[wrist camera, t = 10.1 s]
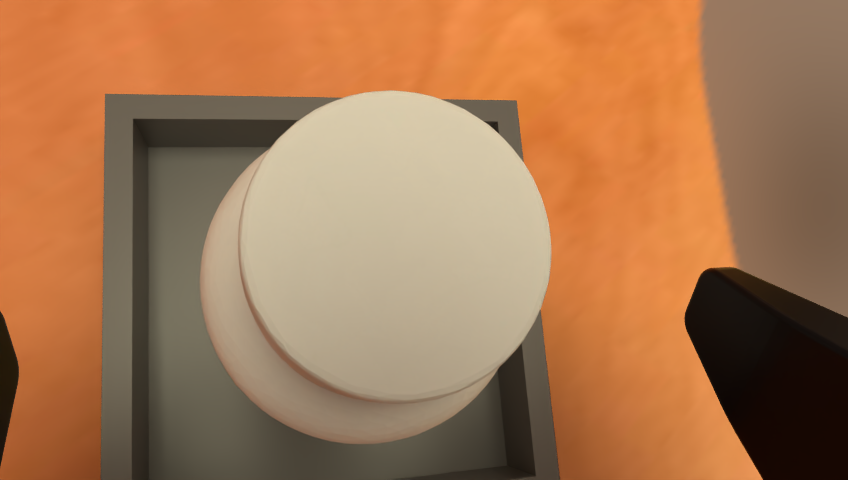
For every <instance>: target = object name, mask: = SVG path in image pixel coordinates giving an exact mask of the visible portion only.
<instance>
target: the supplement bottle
mask: <svg viewBox="0 0 848 480" xmlns="http://www.w3.org/2000/svg"><path fill="white" fill-rule="evenodd" d="M550 266H551V237H550V229H549V223H548V218H547V214H546V211H545V207H544V204H543V201H542V198H541V195H540V193H539V191H538V188H537V186H536V184H535V182H534V179H533V177H532V176H531V174H530V172H529V171H528V169H527V167H526V166H525V164H524V162H523V161H522V160H521V158H520V157H519V156H518V154H517V153H516V152H515V151H514V149H513V148H512V147H511V146H510V145H509V144H508V143H507V141H506V140H505V139H504V138H503V137H502V136H501V135H500V134H499V133H497V132H496V131H495V130H494V129H493V128H492V127H491V126H489V125H488V124H487V123H485V122H484V121H482V120H481V119H479V118H478V117H476V116H474V115H473V114H471V113H470V112H468V111H466V110H465V109H463V108H460V107H458V106H456V105H454V104H452V103H450V102H447V101H444V100H441V99H438V98H436V97H433V96H429V95H424V94H420V93H413V92H404V91H375V92H367V93H361V94H356V95H351V96H347V97H344V98H342V99H339V100H336V101H333V102H331V103H328V104H326V105H324V106H321V107H319V108H317V109H315V110H314V111H312V112H311V113H309V114H307V115H306V116H305V117H303V118H302V119H300V120H299V121H297V122H296V123H295V124H294V125H292V126H291V127H290V128H289V129H288V130H287V131H286V132H285V133H284V134H283V135H281V136H280V137H279V138H278V139H277V141H276V142H275V143H274V144H273V145H272V147H271V148H270V149H269V150H267V151H266V152H264V153H263V154H262V155H261V156H259V157H258V158H257V159H256V160H255V161H254V162H252V163H251V164H250V165H249V166H248V167H247V168H246V169H245V170H244V172H243V173H242V174H241V175H240V176H239V177H238V178H237V180H236V181H235V182H234V184H233V185H232V187H231V188H230V189H229V191H228V192H227V194H226V195H225V197H224V198H223V200H222V201H221V203H220V205H219V207H218V209H217V211H216V213H215V215H214V217H213V219H212V221H211V224H210V227H209V230H208V233H207V237H206V240H205V244H204V248H203V253H202V260H201V270H200V295H201V304H202V310H203V315H204V319H205V323H206V327H207V331H208V333H209V336H210V339H211V341H212V344H213V346H214V348H215V351H216V353H217V355H218V357H219V359H220V361H221V363H222V364H223V366H224V368H225V370H226V371H227V373H228V374H229V376H230V377H231V379H232V380H233V382H234V383H235V385H236V386H238V387H239V388H240V389H241V390H242V391H243V393H244V394H245V395H246V396H247V397H248V398H249V399H250V400H251V401H252V402H253V403H255V404H256V405H257V406H258V407H259V408H260V409H262V410H263V411H264V412H265V413H267V414H268V415H270V416H271V417H273V418H274V419H276V420H278V421H279V422H281V423H283V424H285V425H286V426H288V427H291V428H293V429H295V430H297V431H299V432H302V433H304V434H307V435H310V436H312V437H316V438H320V439H323V440H327V441H332V442H339V443H347V444H377V443H385V442H391V441H396V440H400V439H404V438H408V437H411V436H414V435H418V434H420V433H422V432H424V431H427V430H429V429H431V428H433V427H435V426H437V425H439V424H441V423H443V422H444V421H446V420H448V419H449V418H451V417H453V416H454V415H455V414H457V413H458V412H459V411H460V410H462V409H463V408H464V407H466V406H467V405H468V404H469V403H470V402H471V401H472V400H473V399H475V398H476V397H477V395H478V394H479V393H480V392H481V391H482V390H483V389H484V388H485V387H486V385H487V384H488V383H489V381H490V380H491V379H492V377H493V376H494V375H495V373H496V371H497V370H498V368H499V367H500V366H501V365H502V364H503V363H504V362H505V361H506V360H507V359H508V358H509V357H510V356H511V355H512V354H513V353H514V352H515V351H516V349H517V348H518V347H519V346H520V344H521V343H522V342H523V340H524V339H525V337H526V335H527V334H528V332H529V330H530V329H531V327H532V325H533V324H534V322H535V320H536V318H537V316H538V313H539V311H540V309H541V306H542V303H543V300H544V297H545V294H546V290H547V286H548V282H549V277H550Z"/></svg>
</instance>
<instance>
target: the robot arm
mask: <svg viewBox="0 0 848 480" xmlns="http://www.w3.org/2000/svg"><path fill="white" fill-rule="evenodd" d="M685 326H686V330H687V332H688V334H689V337H690V339H691V341H692V343H693V345H694V347H695V350H696V352H697V354H698V356H699V358H700V360H701V363H702V365H703V367H704V369H705V371H706V373H707V376H708V378H709V380H710V382H711V384H712V386H713V388H714V391H715V393H716V395H717V397H718V399H719V401H720V404H721V406H722V408H723V410H724V412H725V414H726V416H727V418H728V420H729V422H730V423H731V425H732V427H733V429H734V431H735V433H736V434H737V436H738V438H739V439H740V441H741V443H742V445H743V446H744V448H745V450H746V451H747V453H748V455H749V456H750V458H751V460H752V462H753V463H754V465H755V467H756V468H757V470H758V472H759V474H760V475H761V477H762V479H763V480H848V318H847V317H845V316H843V315H841V314H838V313H836V312H834V311H832V310H829V309H827V308H825V307H823V306H820V305H818V304H816V303H814V302H811V301H809V300H807V299H805V298H802V297H800V296H798V295H796V294H793V293H791V292H789V291H787V290H784V289H782V288H780V287H778V286H775V285H773V284H771V283H768V282H766V281H764V280H762V279H759V278H757V277H755V276H753V275H751V274H748V273H746V272H744V271H742V270H739V269H737V268H733V267H721V268H709V269H707V270H705V271H704V272H703V273H702V274H701V275H700V277H699V279H698V282H697V284H696V287H695V289H694V292H693V294H692V297H691V299H690V302H689V304H688V307H687V309H686V312H685ZM18 378H19V366H18V361H17V357H16V354H15V351H14V348H13V344H12V341H11V338H10V335H9V332H8V329H7V326H6V322H5V319H4V317H3V315H2V313H1V312H0V466H1V461H2V456H3V451H4V447H5V442H6V437H7V432H8V427H9V423H10V418H11V413H12V408H13V404H14V399H15V394H16V389H17V385H18Z"/></svg>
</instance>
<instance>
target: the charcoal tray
mask: <svg viewBox="0 0 848 480" xmlns="http://www.w3.org/2000/svg"><path fill="white" fill-rule="evenodd" d="M339 99H342V98H325V97H263V96H201V95H139V94H105V147H104V235H103V322H102V409H101V480H560V476H559V467H558V459H557V450H556V441H555V432H554V424H553V415H552V406H551V398H550V389H549V380H548V371H547V363H546V354H545V345H544V336H543V328H542V319H541V310H540V311H539V313H538V316H537V318H536V320H535V322H534V324H533V325H532V327H531V329H530V330H529V332H528V334H527V335H526V337H525V339H524V340H523V342H522V343H521V344H520V346H519V347H518V348H517V349H516V351H515V352H514V353H513V354H512V355H511V356H510V357H509V358H508V359H507V360H506V361H505V362H504V363H503V364H502V365H501V366H500V367H499V368H498V370H497V371H496V373H495V375H494V376H493V377H492V379H491V380H490V381H489V383H488V384H487V385H486V387H485V388H484V389H483V390H482V391H481V392H480V393H479V394H478V395H477V397H476V398H475V399H473V400H472V401H471V402H470V403H469V404H468V405H467V406H466V407H464V408H463V409H462V410H460V411H459V412H458V413H457V414H455V415H454V416H453V417H451V418H449V419H448V420H446V421H444V422H443V423H441V424H439V425H437V426H435V427H433V428H431V429H429V430H427V431H424V432H422V433H420V434H418V435H414V436H411V437H408V438H404V439H400V440H396V441H391V442H385V443H377V444H347V443H339V442H332V441H327V440H323V439H320V438H316V437H312V436H310V435H307V434H304V433H302V432H299V431H297V430H295V429H293V428H291V427H288V426H286V425H285V424H283V423H281V422H279V421H278V420H276V419H274V418H273V417H271V416H270V415H268V414H267V413H265V412H264V411H263V410H262V409H260V408H259V407H258V406H257V405H256V404H255V403H253V402H252V401H251V400H250V399H249V398H248V397H247V396H246V395H245V394H244V393H243V391H242V390H241V389H240V388H239V387H238V386H236V385H235V383H234V382H233V380H232V379H231V377H230V376H229V374H228V373H227V371H226V370H225V368H224V366H223V364H222V363H221V361H220V359H219V357H218V355H217V353H216V351H215V348H214V346H213V344H212V341H211V339H210V336H209V333H208V331H207V327H206V323H205V319H204V315H203V310H202V304H201V295H200V270H201V260H202V253H203V248H204V244H205V240H206V237H207V233H208V230H209V227H210V224H211V221H212V219H213V217H214V215H215V213H216V211H217V209H218V207H219V205H220V203H221V201H222V200H223V198H224V197H225V195H226V194H227V192H228V191H229V189H230V188H231V187H232V185H233V184H234V182H235V181H236V180H237V178H238V177H239V176H240V175H241V174H242V173H243V172H244V170H245V169H246V168H247V167H248V166H249V165H250V164H251V163H252V162H254V161H255V160H256V159H257V158H258V157H259V156H261V155H262V154H263V153H264V152H266V151H267V150H269V149H270V148H271V147H272V145H273V144H274V143H275V142H276V141H277V139H278V138H279V137H280V136H281V135H283V134H284V133H285V132H286V131H287V130H288V129H289V128H290V127H291V126H292V125H294V124H295V123H296V122H297V121H299V120H300V119H302V118H303V117H305V116H306V115H307V114H309V113H311V112H312V111H314V110H315V109H317V108H319V107H321V106H324V105H326V104H328V103H331V102H333V101H336V100H339ZM441 100H444V101H447V102H450V103H452V104H454V105H456V106H458V107H460V108H463V109H465V110H466V111H468V112H470V113H471V114H473V115H474V116H476V117H478V118H479V119H481V120H482V121H484V122H485V123H487V124H488V125H489V126H491V127H492V128H493V129H494V130H495V131H496V132H497V133H499V134H500V135H501V136H502V137H503V138H504V139H505V140H506V141H507V143H508V144H509V145H510V146H511V147H512V148H513V149H514V151H515V152H516V153H517V154H518V156H519V157H520V158H521V160H522V161H523V153H522V144H521V135H520V127H519V118H518V109H517V101H511V100H449V99H441Z"/></svg>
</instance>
